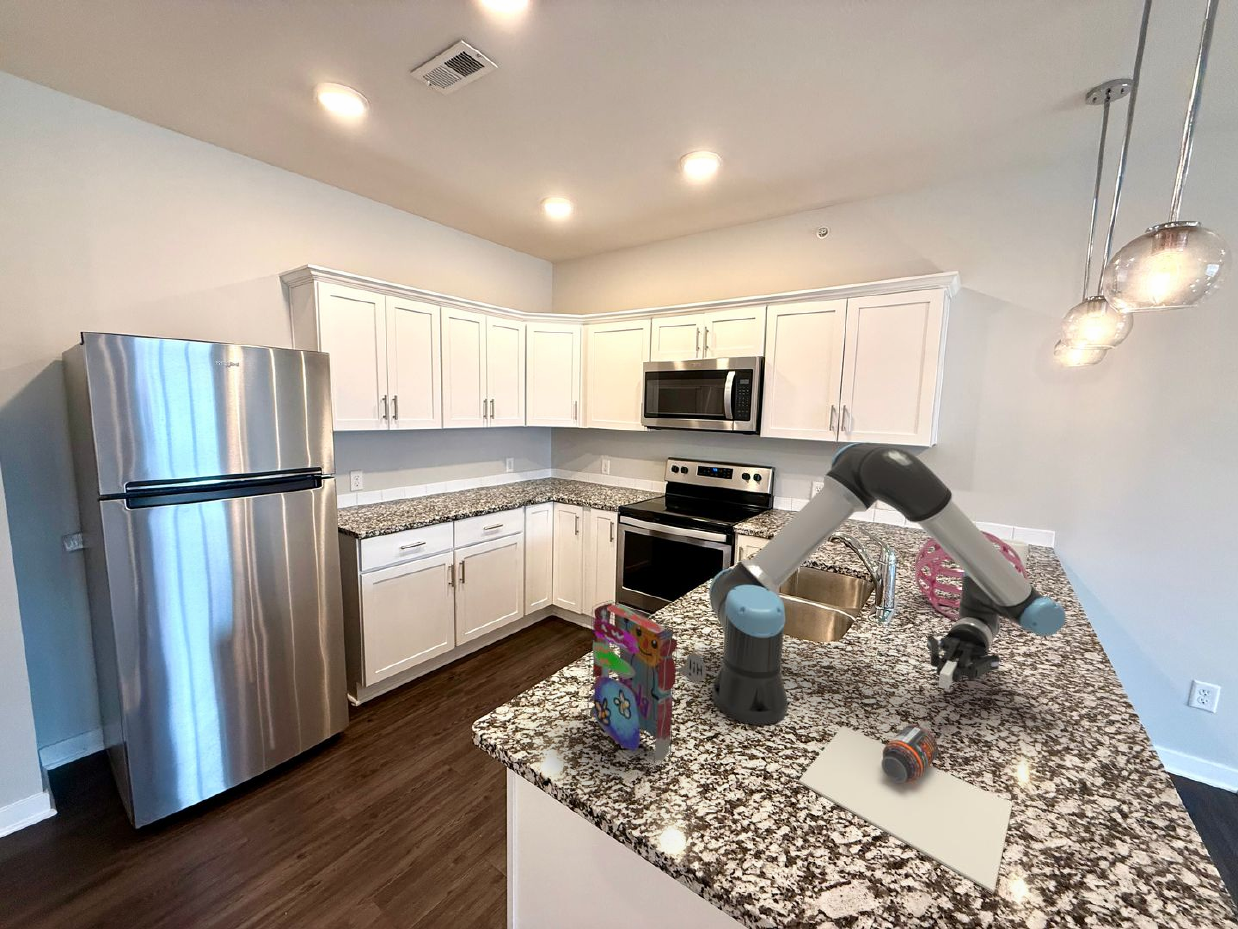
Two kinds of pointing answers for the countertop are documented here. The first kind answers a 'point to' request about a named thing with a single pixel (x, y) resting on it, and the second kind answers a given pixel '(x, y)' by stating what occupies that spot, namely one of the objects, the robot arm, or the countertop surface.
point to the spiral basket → (952, 571)
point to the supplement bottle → (909, 754)
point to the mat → (915, 806)
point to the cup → (1018, 550)
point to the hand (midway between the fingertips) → (943, 681)
